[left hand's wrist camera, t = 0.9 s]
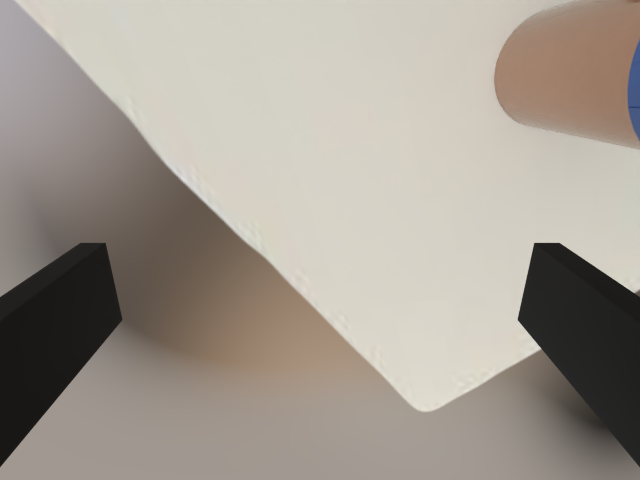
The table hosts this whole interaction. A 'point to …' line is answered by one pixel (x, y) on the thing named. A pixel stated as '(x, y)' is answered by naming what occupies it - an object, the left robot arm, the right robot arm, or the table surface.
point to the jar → (573, 70)
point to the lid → (634, 91)
